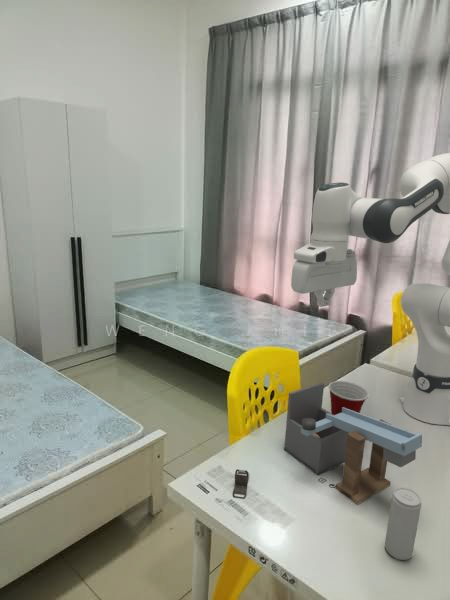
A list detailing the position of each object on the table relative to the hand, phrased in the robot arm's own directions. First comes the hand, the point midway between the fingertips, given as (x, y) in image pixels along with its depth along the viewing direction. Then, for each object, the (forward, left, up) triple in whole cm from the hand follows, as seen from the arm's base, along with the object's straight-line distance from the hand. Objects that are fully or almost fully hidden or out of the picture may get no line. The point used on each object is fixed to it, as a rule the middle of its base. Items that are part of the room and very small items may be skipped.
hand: (323, 305), depth 108 cm
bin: (+6, +8, -36) cm, 37 cm away
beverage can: (+15, +37, -36) cm, 54 cm away
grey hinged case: (+29, +7, -37) cm, 47 cm away
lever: (+10, +22, -26) cm, 36 cm away
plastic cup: (-10, +3, -36) cm, 38 cm away
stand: (+6, +22, -36) cm, 43 cm away
